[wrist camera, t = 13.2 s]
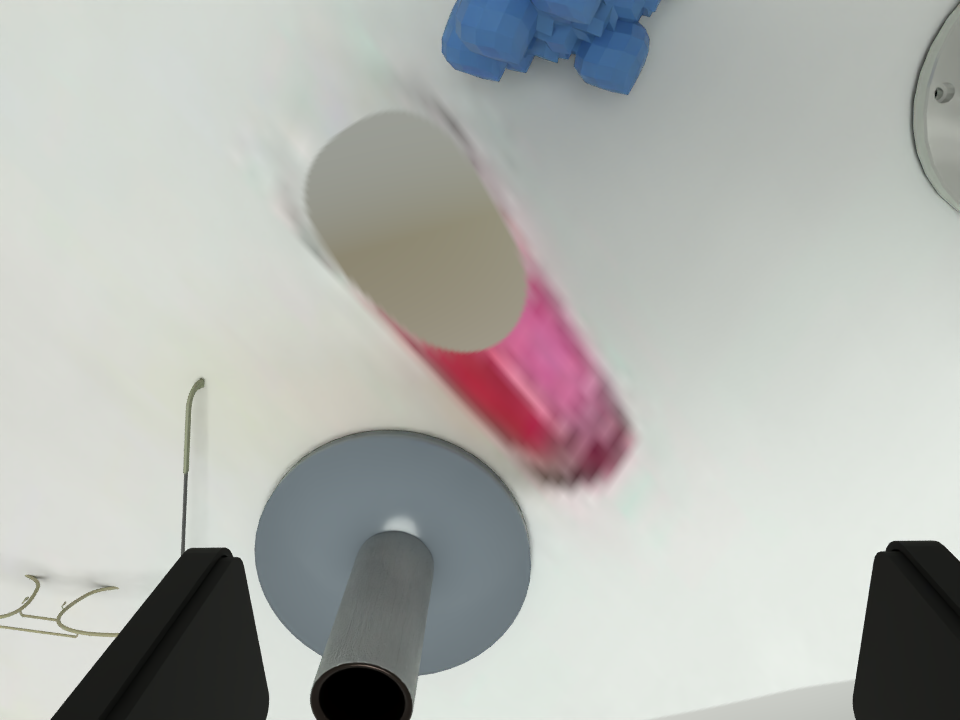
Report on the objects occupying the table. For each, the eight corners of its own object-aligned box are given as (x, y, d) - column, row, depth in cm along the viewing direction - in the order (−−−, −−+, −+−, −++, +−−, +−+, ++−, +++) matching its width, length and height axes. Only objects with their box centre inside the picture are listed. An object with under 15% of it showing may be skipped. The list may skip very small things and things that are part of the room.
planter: (382, 608, 40) (346, 759, 31) (341, 550, 39) (288, 688, 30) (448, 577, 40) (432, 722, 30) (408, 517, 38) (377, 647, 29)
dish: (530, 429, 38) (531, 438, 37) (529, 663, 43) (530, 677, 42) (245, 430, 38) (237, 439, 37) (277, 661, 43) (271, 675, 42)
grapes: (494, 157, 33) (490, 169, 22) (431, 20, 32) (392, -45, 20) (721, 43, 32) (846, -8, 20) (669, -110, 30) (773, -262, 18)
